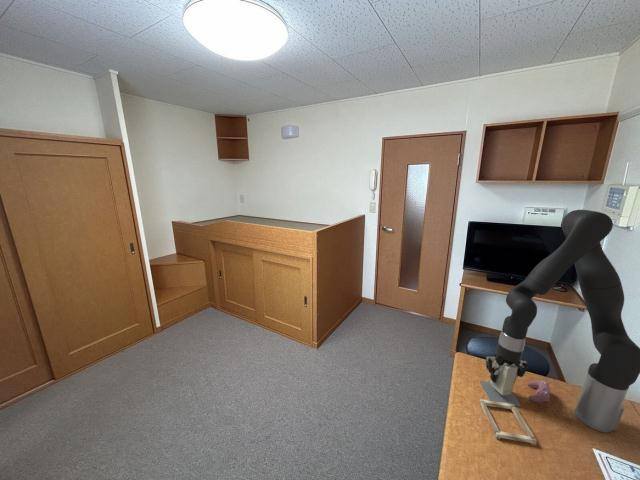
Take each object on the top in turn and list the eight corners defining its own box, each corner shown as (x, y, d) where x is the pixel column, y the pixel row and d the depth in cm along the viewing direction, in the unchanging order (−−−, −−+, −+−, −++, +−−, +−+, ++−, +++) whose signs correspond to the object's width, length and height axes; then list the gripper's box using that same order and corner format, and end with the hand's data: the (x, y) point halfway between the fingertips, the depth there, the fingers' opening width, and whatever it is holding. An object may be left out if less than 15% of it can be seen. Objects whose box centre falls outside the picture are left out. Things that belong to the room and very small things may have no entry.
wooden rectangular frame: (512, 408, 94) (513, 404, 93) (535, 445, 81) (537, 440, 81) (478, 403, 96) (479, 399, 95) (495, 438, 83) (497, 434, 83)
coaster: (506, 385, 104) (507, 384, 104) (520, 407, 95) (521, 405, 94) (480, 381, 106) (480, 380, 106) (491, 402, 96) (491, 401, 96)
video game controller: (539, 409, 96) (554, 400, 92) (526, 399, 98) (541, 389, 94) (537, 391, 103) (551, 382, 100) (526, 382, 105) (539, 373, 102)
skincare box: (511, 394, 97) (519, 367, 94) (501, 395, 96) (508, 368, 93) (498, 381, 103) (505, 355, 100) (488, 382, 102) (494, 356, 99)
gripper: (526, 340, 97) (516, 377, 101) (485, 335, 99) (477, 372, 104) (539, 353, 90) (528, 393, 94) (494, 348, 92) (485, 387, 97)
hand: (501, 382), depth 99 cm, fingers closed on skincare box, 5 cm apart
